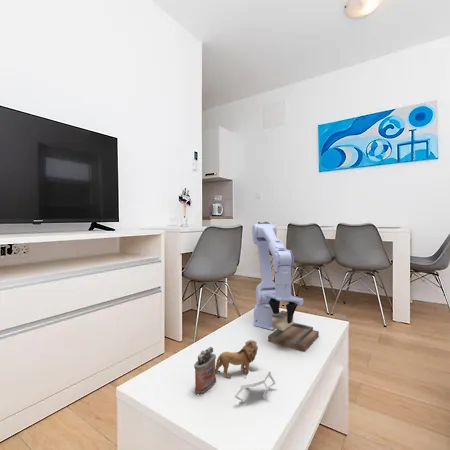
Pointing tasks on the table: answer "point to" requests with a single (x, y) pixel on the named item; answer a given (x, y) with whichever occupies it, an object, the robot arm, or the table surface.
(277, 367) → the table surface
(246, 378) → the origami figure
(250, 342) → the lion figurine
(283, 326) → the beige lidded box
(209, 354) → the lighter
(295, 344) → the dock
